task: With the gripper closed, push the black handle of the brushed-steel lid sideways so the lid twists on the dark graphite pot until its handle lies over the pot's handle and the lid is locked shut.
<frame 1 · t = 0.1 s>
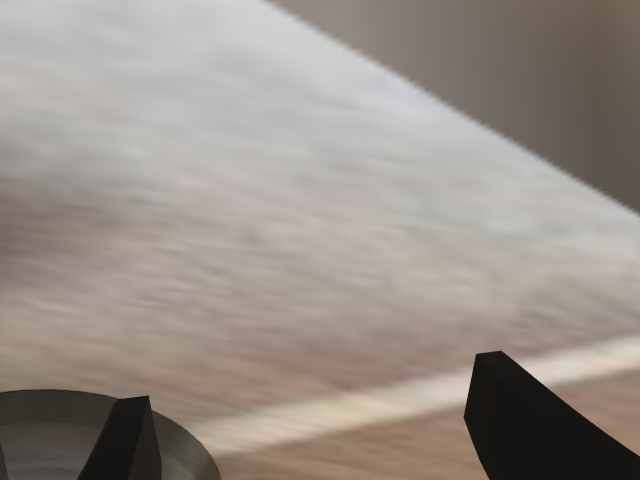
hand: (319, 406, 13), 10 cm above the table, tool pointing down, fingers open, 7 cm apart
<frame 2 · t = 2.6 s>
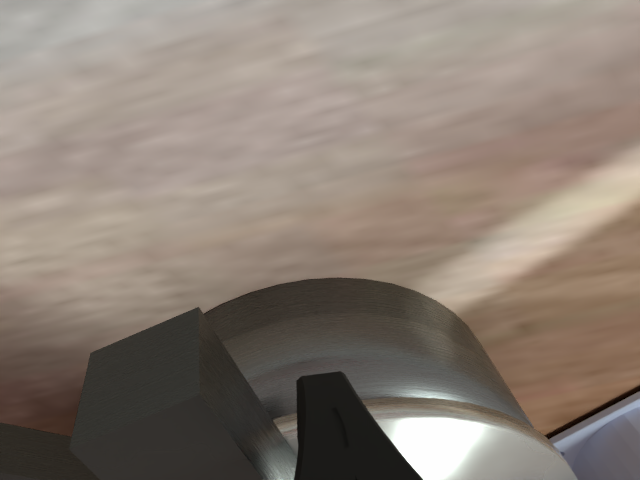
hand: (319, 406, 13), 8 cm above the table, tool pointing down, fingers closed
cooker pot: (312, 433, 25), on the table
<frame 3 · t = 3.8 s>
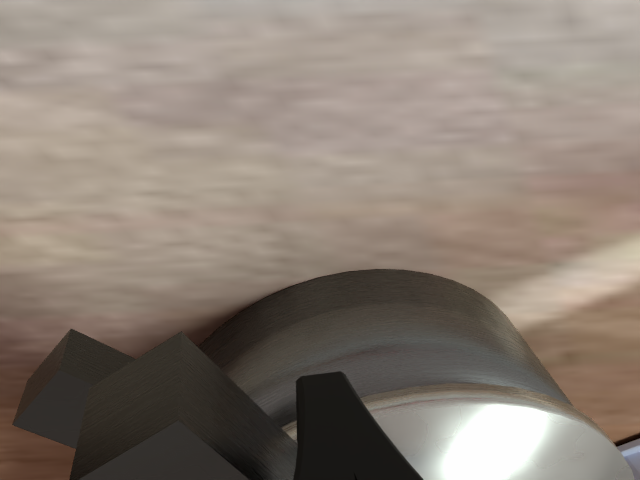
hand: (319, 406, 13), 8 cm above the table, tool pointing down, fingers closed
cooker pot: (352, 425, 25), on the table
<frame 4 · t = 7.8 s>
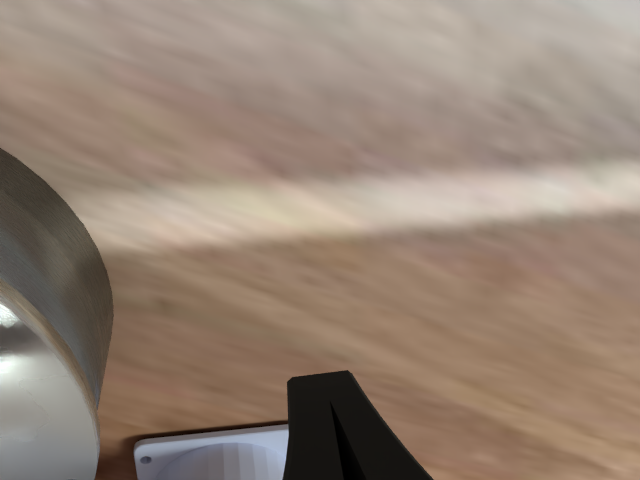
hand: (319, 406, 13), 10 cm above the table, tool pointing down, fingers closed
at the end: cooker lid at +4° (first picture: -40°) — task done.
